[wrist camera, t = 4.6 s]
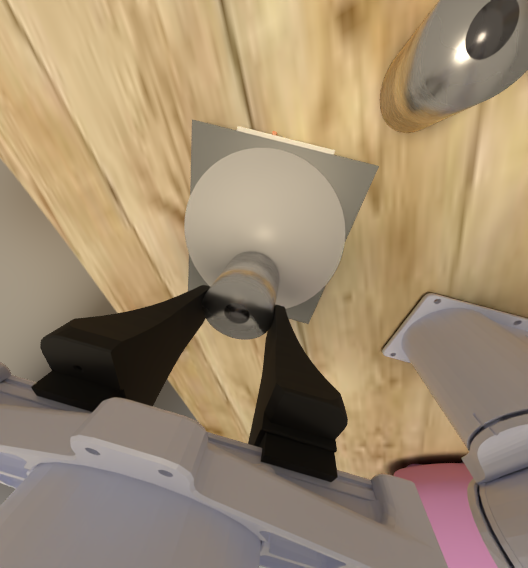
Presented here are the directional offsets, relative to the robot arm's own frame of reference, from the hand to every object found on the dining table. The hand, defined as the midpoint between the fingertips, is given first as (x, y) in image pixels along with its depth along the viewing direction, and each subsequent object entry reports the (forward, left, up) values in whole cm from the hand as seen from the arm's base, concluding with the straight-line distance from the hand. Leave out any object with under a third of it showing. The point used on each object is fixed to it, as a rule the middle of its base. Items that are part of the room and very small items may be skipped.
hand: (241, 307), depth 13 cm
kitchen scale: (0, -3, -6) cm, 7 cm away
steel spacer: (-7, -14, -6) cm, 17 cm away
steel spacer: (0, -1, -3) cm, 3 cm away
